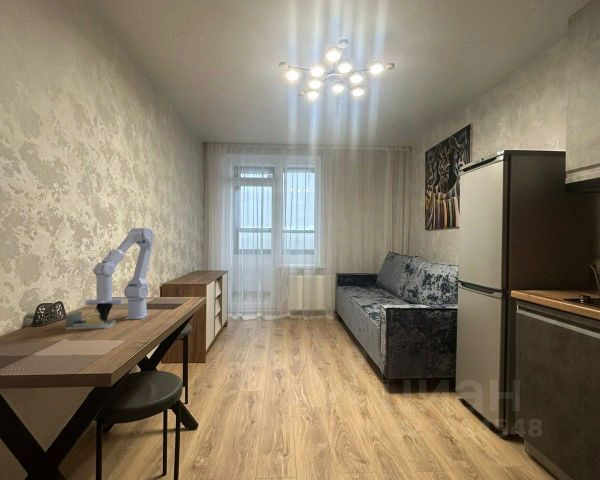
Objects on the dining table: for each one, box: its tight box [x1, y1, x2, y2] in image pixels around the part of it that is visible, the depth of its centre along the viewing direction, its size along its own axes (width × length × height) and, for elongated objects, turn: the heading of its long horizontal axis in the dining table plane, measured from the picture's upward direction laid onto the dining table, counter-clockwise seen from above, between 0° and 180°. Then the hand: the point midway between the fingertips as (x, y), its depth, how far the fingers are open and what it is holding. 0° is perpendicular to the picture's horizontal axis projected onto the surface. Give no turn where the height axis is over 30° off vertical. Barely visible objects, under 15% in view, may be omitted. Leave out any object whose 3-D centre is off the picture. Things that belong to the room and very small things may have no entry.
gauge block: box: [85, 312, 104, 323], centre depth 139 cm, size 5×5×4 cm
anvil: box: [65, 311, 82, 328], centre depth 138 cm, size 6×3×5 cm, turn 8°
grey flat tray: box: [65, 318, 117, 331], centre depth 140 cm, size 9×17×2 cm, turn 98°
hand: (104, 320), depth 140 cm, fingers closed
